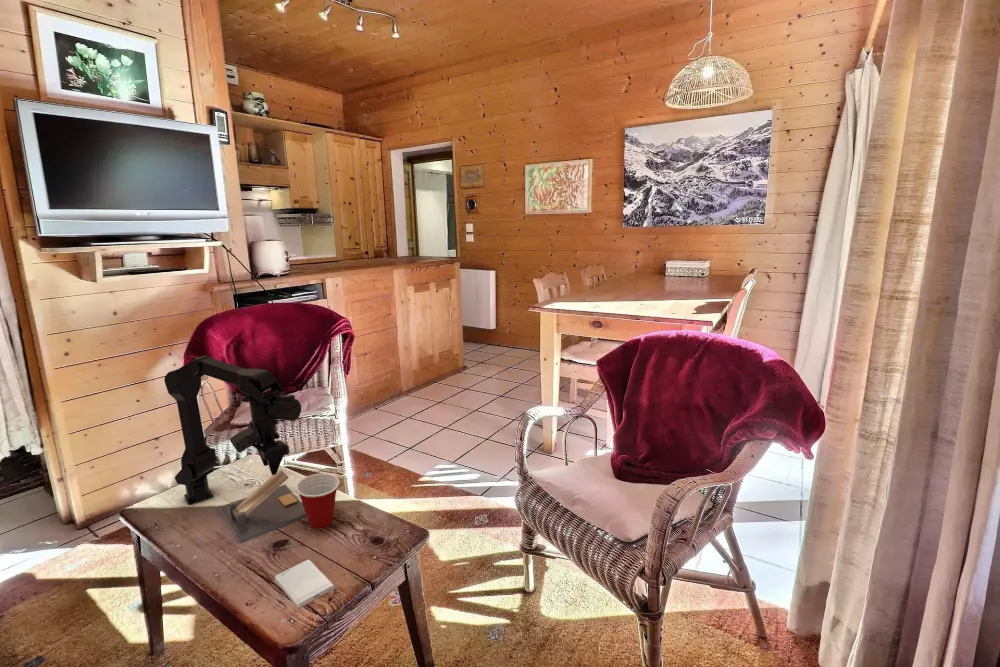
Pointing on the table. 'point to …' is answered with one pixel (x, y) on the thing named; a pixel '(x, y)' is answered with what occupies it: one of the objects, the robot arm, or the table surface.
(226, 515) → the mounting plate
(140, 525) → the table surface
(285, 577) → the hard drive
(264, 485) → the lever
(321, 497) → the plastic cup
